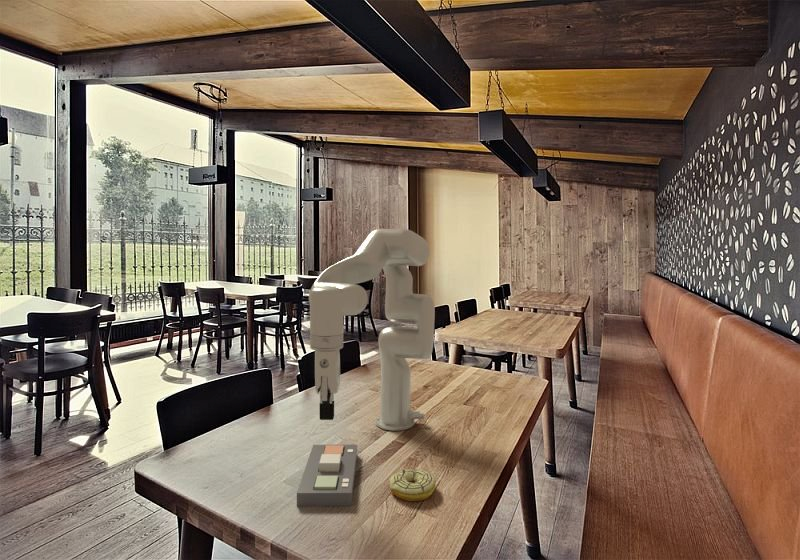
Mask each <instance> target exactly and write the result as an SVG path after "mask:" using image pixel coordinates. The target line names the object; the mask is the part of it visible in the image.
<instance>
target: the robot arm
mask: <svg viewBox="0 0 800 560" xmlns="http://www.w3.org/2000/svg"><path fill="white" fill-rule="evenodd" d="M429 256H430V247H429V243H428V242H427V241H426V239H425V238H424V237H422V236H421V235H420V234H418V233H416V232H415V231H412V230H411V229H407V228H377V229H373V230H372V231H371V232H370V233H368V235H367V236H366V238H364V240H363V242H362V243H361V244H360V245H359V247H358V248H357V250H356V251H355V252H354V253H353V255H351V256H349V257H346V258H345V259H342V260H341V261H338V262H337V263H335V264H333V265H331V266H329V267H328V268H326V269H325V270H323V271H322V272H321V274H320V275H319V276H318V277H317V279H315V280H314V283H313V284H312V286H311V288H310V290H309V293H308V303H309V339H310V340H309V349H311V350H313V351H314V386H315V387H314V388H315V389H314V391H315V393H316V394H318V395H319V420H320V421H333V420H334V417H335V400H334V399H335V398H334V396H335V395H336V394H337V393H338V392H339V390H340V385H341V358H340V357H341V355H340V350H341V349H343V348H344V317H345V316H356V315H359V314H361V313H362V312H364V310H365V309H366V307H367V304H368V299H369V298H368V297H369V296H368V293H367V291H366V289H365V287H363V286H361V285H359V284H361V283H365V282H369V281H371V280H373V279H376V278H377V277H378V276H379V275H380V273H381V271H382V270H383V272H384V274H385V297H384V298H385V301H384V314H385V318H386V319H387V320H388V321H390V322H393V323H399V324H401V323H402V324H408V325H409V324H412V325H416V326H417V328H415V327H414V328H413V327H405V326H387V327H385V328H383V329H382V330H381V331H380V332H379V335H378V340H377V341H378V342H377V343H378V349H379V353H380V355H379V356H380V415H378V416H377V417H375V425H376V426H377V428H378V427H379V428H380V429H383V430H385V431H386V430H387V431H393V432H395V431H405V430H409V429H411V428H412V427H414V425H415V420H424V419H425V413H423V412H422V413H421V411H420V410H415V411H414V410H412V408H411V376H412V375H411V372H412V371H411V368H410V365H409V362H408V361H407V359H413V360H422V361H424V360H427V359H430V357H431V356H432V353H433V350H434V349H433V348H434V335H435V318H436V316H435V315H436V313H435V312H436V311H435V309H436V308H435V303H434V302H435V301H434V300H433V298H432V297H431V296H430V295H428V294H423V293H420V294H419V293H414V292H413V280H414V279H413V276H412V273H411V271H410V270H409V268H408V267H409V266H414V267H421V266H424V265H425V264H426V263H427V262H428V259H429ZM407 266H408V267H407Z"/></svg>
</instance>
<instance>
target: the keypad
mask: <svg viewBox="0 0 800 560" xmlns="http://www.w3.org/2000/svg"><path fill="white" fill-rule="evenodd" d="M326 445H327V444H313V445H312V448H311V450H310V453H309V456H308V459H307V462H306V465H305V468H304V472H303V473H302V476H301V479H300V483H299V486H298V488H297V492H296V506H297V507H342V506H343V507H351V506H352V502H353V493H354V486H355V477H356V476H355V475H356V469H357V459H358V444H343V445H344V454H343V456H341V468H340V472H319V462H320V459H321V455H322V454H324V450H325V447H326ZM317 476H338V487H337V490H314V486H315V482H316V479H317Z"/></svg>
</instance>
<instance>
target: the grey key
mask: <svg viewBox="0 0 800 560" xmlns="http://www.w3.org/2000/svg"><path fill="white" fill-rule="evenodd" d="M340 468H341V454H322V455H321V459H320V462H319V472H340Z"/></svg>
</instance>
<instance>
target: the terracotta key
mask: <svg viewBox="0 0 800 560" xmlns="http://www.w3.org/2000/svg"><path fill="white" fill-rule="evenodd" d="M325 445H326V447H325V450H324V454H341V456H343V454H344V445H345V444H325Z"/></svg>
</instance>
